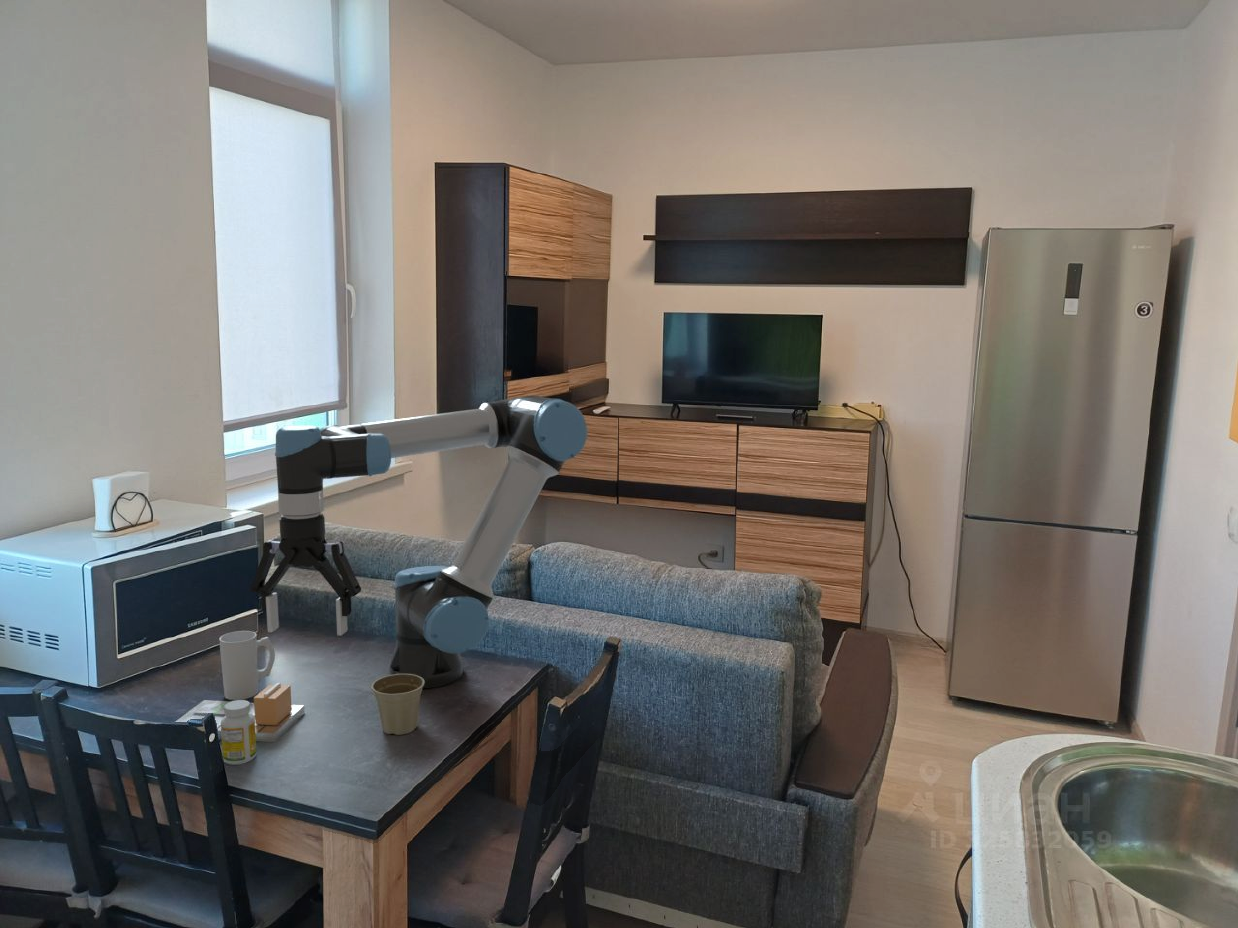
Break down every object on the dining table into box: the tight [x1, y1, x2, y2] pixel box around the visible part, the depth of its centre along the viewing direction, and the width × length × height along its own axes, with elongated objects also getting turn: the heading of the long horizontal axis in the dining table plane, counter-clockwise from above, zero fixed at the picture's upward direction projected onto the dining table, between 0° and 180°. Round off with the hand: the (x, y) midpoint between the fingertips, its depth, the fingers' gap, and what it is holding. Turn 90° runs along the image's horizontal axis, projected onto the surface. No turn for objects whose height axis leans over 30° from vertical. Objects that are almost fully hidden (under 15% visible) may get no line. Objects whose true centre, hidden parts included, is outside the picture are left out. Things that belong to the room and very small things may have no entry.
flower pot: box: [370, 674, 425, 736], centre depth 166 cm, size 9×9×9 cm
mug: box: [218, 630, 276, 701], centre depth 181 cm, size 10×7×12 cm, turn 121°
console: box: [174, 699, 305, 743], centre depth 168 cm, size 20×12×2 cm, turn 84°
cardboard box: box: [253, 682, 293, 725], centre depth 167 cm, size 4×6×6 cm, turn 174°
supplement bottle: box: [221, 699, 257, 766], centre depth 155 cm, size 5×5×10 cm
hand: (307, 631), depth 164 cm, fingers open, 12 cm apart
